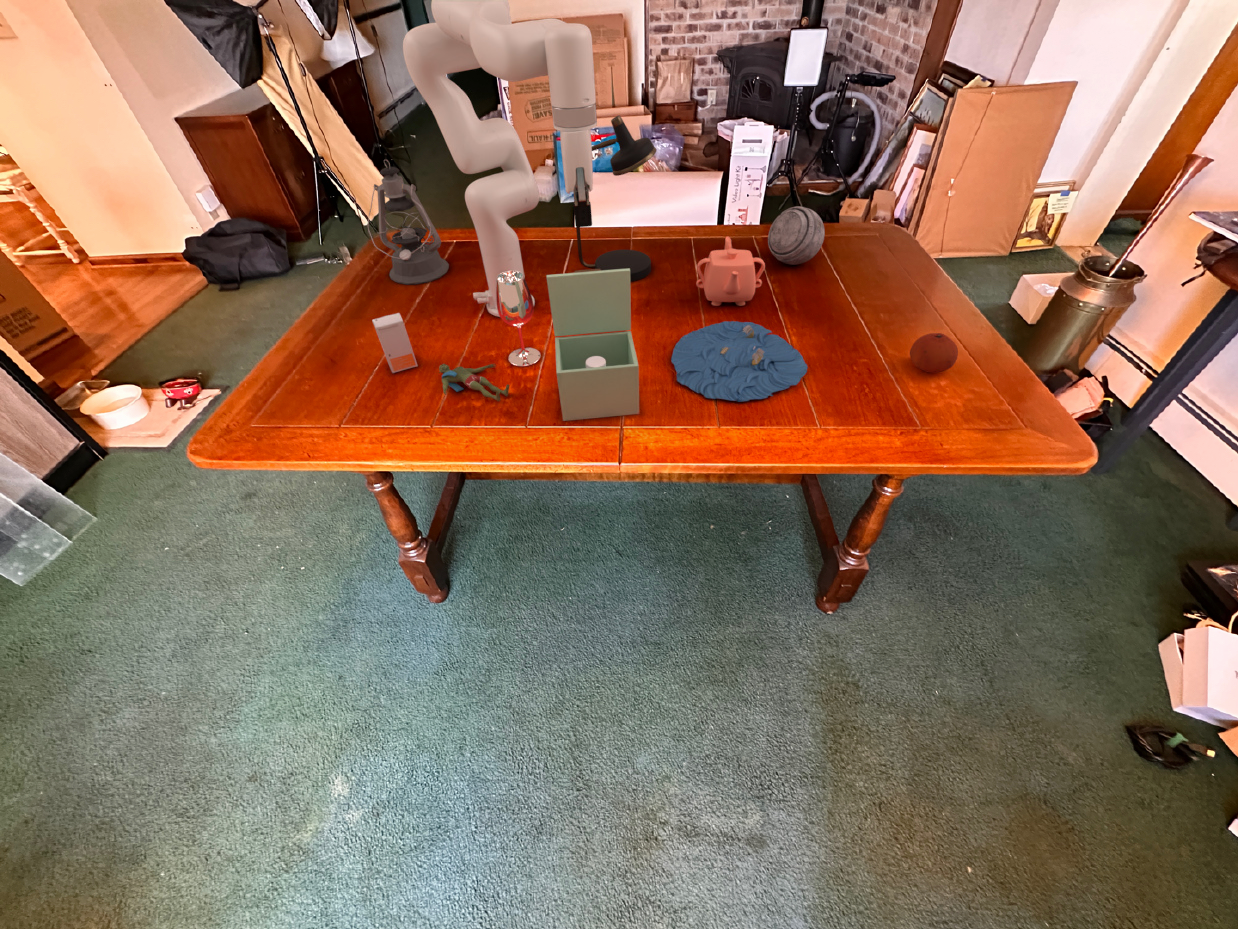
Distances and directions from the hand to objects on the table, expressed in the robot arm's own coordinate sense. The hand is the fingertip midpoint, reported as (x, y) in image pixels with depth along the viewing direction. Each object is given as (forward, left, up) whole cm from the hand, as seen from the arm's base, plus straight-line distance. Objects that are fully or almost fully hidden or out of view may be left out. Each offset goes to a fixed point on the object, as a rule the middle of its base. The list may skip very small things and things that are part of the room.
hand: (583, 224), depth 108 cm
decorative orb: (+60, +39, -30) cm, 78 cm away
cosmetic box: (-44, +3, -30) cm, 54 cm away
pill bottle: (0, -18, -30) cm, 34 cm away
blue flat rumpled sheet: (+32, -8, -30) cm, 45 cm away
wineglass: (-16, +2, -30) cm, 34 cm away
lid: (0, -11, -11) cm, 15 cm away
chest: (0, -16, -30) cm, 34 cm away
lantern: (-48, +51, -30) cm, 77 cm away
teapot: (+37, +22, -30) cm, 53 cm away
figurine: (-27, -8, -30) cm, 41 cm away
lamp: (+10, +43, -30) cm, 54 cm away
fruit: (+72, -16, -30) cm, 80 cm away
